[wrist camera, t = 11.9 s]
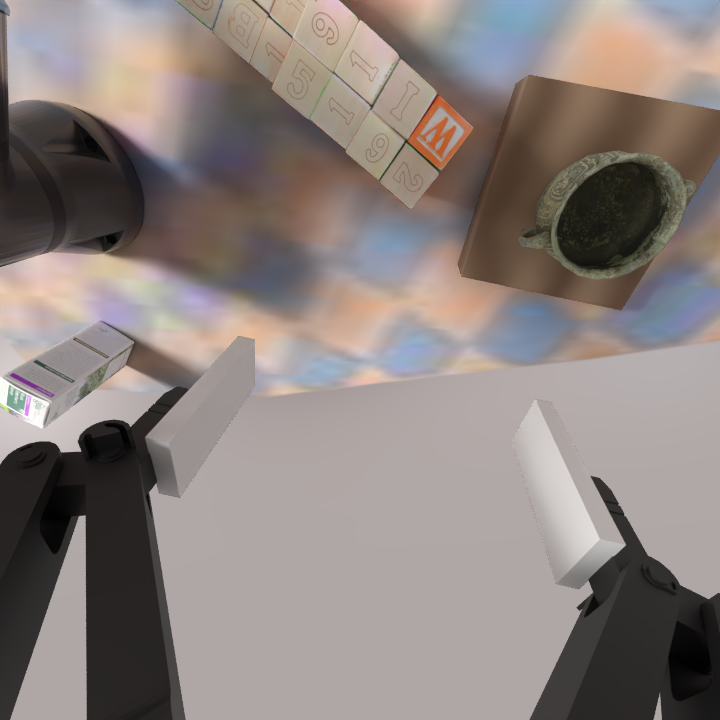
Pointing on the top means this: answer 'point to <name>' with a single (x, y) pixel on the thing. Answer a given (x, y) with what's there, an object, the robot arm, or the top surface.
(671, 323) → the top surface
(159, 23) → the top surface
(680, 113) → the walnut block
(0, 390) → the syrup box
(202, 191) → the top surface
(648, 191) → the vessel
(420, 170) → the stack of blocks
